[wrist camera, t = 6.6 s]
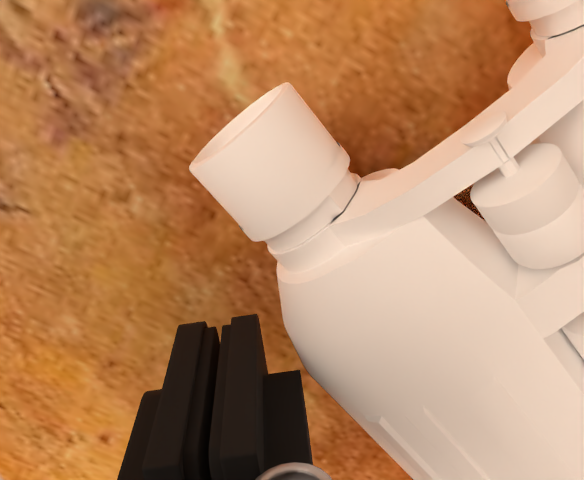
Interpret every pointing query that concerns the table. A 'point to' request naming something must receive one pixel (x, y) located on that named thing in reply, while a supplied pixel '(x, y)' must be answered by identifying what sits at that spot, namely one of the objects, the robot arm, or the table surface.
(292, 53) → the table surface
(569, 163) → the binoculars
